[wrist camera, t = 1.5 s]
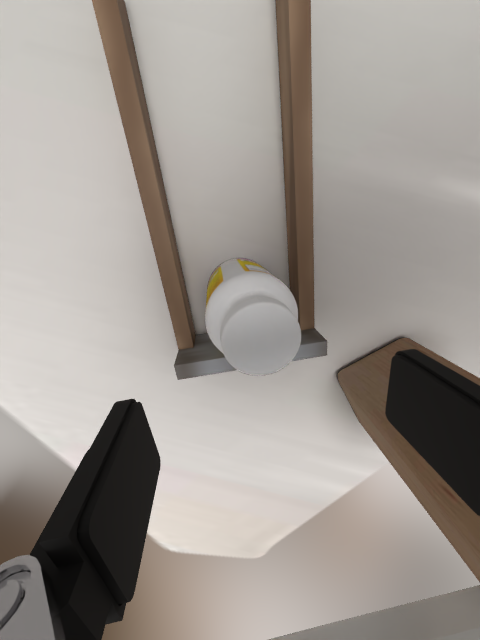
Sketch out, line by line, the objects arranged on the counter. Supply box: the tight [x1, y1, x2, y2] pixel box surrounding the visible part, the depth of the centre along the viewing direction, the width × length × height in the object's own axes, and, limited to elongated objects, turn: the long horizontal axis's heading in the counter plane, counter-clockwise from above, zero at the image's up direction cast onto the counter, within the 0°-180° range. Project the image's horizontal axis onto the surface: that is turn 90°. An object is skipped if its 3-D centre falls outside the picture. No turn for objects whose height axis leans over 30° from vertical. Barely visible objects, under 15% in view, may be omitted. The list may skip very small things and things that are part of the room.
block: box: [338, 338, 480, 582], centre depth 23 cm, size 10×10×20 cm
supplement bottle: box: [205, 258, 301, 376], centre depth 20 cm, size 7×7×13 cm
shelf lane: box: [92, 0, 327, 380], centre depth 20 cm, size 14×28×6 cm, turn 7°
